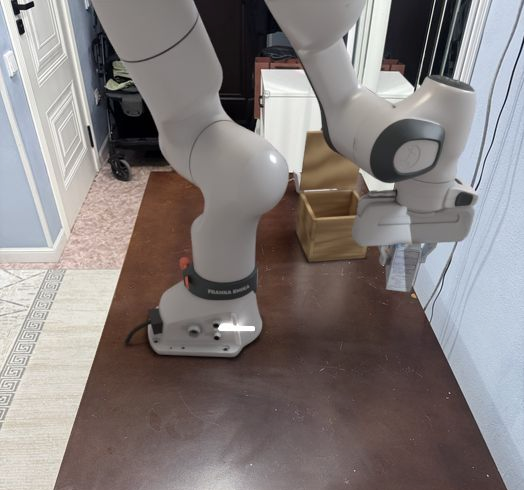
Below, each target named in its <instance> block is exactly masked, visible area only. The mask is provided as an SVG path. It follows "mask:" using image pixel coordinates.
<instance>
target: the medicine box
mask: <svg viewBox="0 0 524 490" xmlns="http://www.w3.org/2000/svg"><path fill="white" fill-rule="evenodd" d="M421 248H422V244H421V243H407V244H397V245H389V248H388V253H389V255H390V256H391V257H392V258H391V261H390V265H384V266H385V290H388V291H397V292H403V293H404V292H405V293H410V292H411V291H412V287H413V283H414V280H415V276H416V273H417V269H418V266H419V264H420V263H419V259H420V256H421V252H422V251H421Z"/></svg>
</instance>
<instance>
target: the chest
mask: <svg viewBox="0 0 524 490" xmlns="http://www.w3.org/2000/svg"><path fill="white" fill-rule="evenodd" d="M360 198H361V196H360V194H359V193H358V192H357V190H356V189H355V188H343V189H337V190H326V191H307V192H299V193H298V205H297V219H296V235H297V237H298V240H299V242H300V245H301V247H302V250H303V252H304V254H305V256H306V259H307V262H308V263H312V262H314V263H315V262H325V261H326V262H327V261H339V260H355V259H365V258H366V253H367V249H368V246H359V245H358V244H357V243H356V241H355V240H354V238H353V236H352V228H353V224H354V220H355V217H356V215H357V206H358V201H359V199H360Z"/></svg>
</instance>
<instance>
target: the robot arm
mask: <svg viewBox="0 0 524 490" xmlns="http://www.w3.org/2000/svg"><path fill="white" fill-rule="evenodd" d="M263 1H264V2H265V5H266V6H267V8H268V10H269V12H270V13H271V15H272V16H273V18H274V19H275V22H276V23H277V25H278V26H279V28H280V29H281V31H282V33H283V34H284V35H285V37H286V38H287V40H288V41H289V43H290V45H291V46H292V48H293V50H294V52H295V55H296V57H297V59H298V62H299V64H300V66H301V68H302V70H303V72H304V74H305V77H306V79H307V81H308V83H309V85H310V87H311V89H312V91H313V94H314V96H315V98H316V101H317V103H318V107H319V112H320V120H321V123H320V124H321V128H322V132H323V136H324V139H325V142H326V143H327V145H328V146H329V148H330V149H331V150H333V151H334V152H336V153H338V154H340V155H341V156H343V157H345V158H347V159H348V160H350V161H351V162H352V163H354V164H355V165H357V166H358V167H359V168H360V169H361V170H362V171H364V172H365V173H366V174H367V175H369V176H371V177H372V178H374V179H375V180H377V181H379V182H382V183H384V184H394V186H393V189H383V190H375V189H374V190H373V189H372V190H369V191H368V192H367V193H364V194H363V195H362V196H360V199H359V201H358V206H357V215H356V217H355V220H354V224H353V228H352V236H353V238H354V240H355V241H356V243H357V244H358V245H359V246H367V247H377V249H378V252H379V253H380V254H379V258H378V263H379V264H380V266H386V265H390V261H391V258H392V257H391V256H390V255H389V249H390V245H397V244H407V243H421V245H423V246H421V251H422V252H421V256H420V259H419V263H418V264H425V263H426V260H427V257H428V256H429V255H430V254H431V253H432V252H433V251H434V250H435V249H436V248H437V245H438V244H439V243H440V244H441V243H443V244H444V243H460V242H463V241H464V240H466V238H467V237H468V236H469V234H470V231H471V229H472V225H473V222H474V220H475V213H476V210H475V207H474V206H475V205H477V202H478V201H479V198H480V194H479V193H478V192H477V191H476V190H475V189H474V188H473V187H472V186H471V185H470V184H469V183H468V182H466V181H465V180H464V179H462V178H461V177H458V176H457V173H458V169H457V168H458V162H459V160H460V157H461V156H462V154H463V153H464V151H465V148H466V147H467V143H468V140H469V136H470V133H471V130H472V127H473V123H474V117H475V113H476V108H477V107H476V106H477V93H476V90H475V89H474V87H473V86H472V85H470V84H468V83H466V82H464V81H461V80H459V79H455V78H452V77H449V76H446V75H441V74H431V75H427V76H426V77H425V78H424V80H423V82H422V84H420V86H419V87H418V88H417V89H416V90H415V91H413V92H412V93H411V94H410V95H408V96H406V97H405V98H403V99H401V100H399V101H397V102H393V103H392V102H391V101H389V100H387V99H385V98H383V97H382V96H380V95H377V93H375V92H374V91H372V90H371V89H369V88H368V87H366V86H364V84H363V83H362V82H361V80H359V79H358V76H357V73H356V71H355V68H354V66H353V63H352V60H351V57H350V55H349V52H348V49H347V46H346V44H345V41H344V38H343V37H344V36H345V35H347V33H348V32H350V31H351V30H352V29H353V27H354V26H355V25H356V23H357V22H358V20H359V19H360V17H361V16H362V14H363V11H364V9H365V6H366V3H367V0H263ZM90 2H91V4H92V7H93V9H94V11H95V13H96V16H97V18H98V20H99V22H100V24H101V26H102V29H103V31H104V33H105V35H106V36H107V38H108V40H109V42H110V44H111V46H112V47H113V49H114V52H115V53H116V54H117V55H116V56H118V58H119V60H120V62H121V63H122V65H123V67H124V68H125V70H126V72H127V74H128V76H130V78H131V80H132V82H133V84H134V85H135V87H136V89H137V90H138V92H139V94H140V95H141V98H142V100H143V101H144V103H145V104H146V107H147V108H148V110H149V112H150V115H151V116H152V119H153V121H154V124H155V126H156V129H157V132H158V146H159V150H160V151H161V154H162V156H163V158H164V159H165V160H166V161H167V163H168V164H169V165H170V166H171V168H172V169H173V170H174V171H175V172H176V173H177V174H178V175H179V176H180V177H182V178H184V179H185V180H187V181H188V182H189V183H191V184H192V185H194V186H195V187H197V188H198V189H200V191H201V194H202V196H203V201H204V205H203V212H202V213H201V214H199V215H198V216H197V217H196V218H195V219H194V221H193V222H192V224H191V225H190V226H191V227H190V240H191V252H192V261H191V259H190V258H189V257H187V256H182V257H181V258H180V259H179V269H180V270H181V271H182V280H180V281H178V282H177V283H175V284H174V285H173V286H171V287H170V288H168V289H166V290H165V291H164V292H163V293H162V295H161V297H160V300H159V304H158V305H157V306H156V307H155V308H150V309H147V314H148V320H146V321H144V322H142V323H141V324H139V325H137V326H135V327H134V328H133V329H131V331H130V332H129V333H128V335H127V337H126V339H125V340H124V343H125V344H126V345H127V344H129V343H130V341H131V340H132V338H133V336H134V335H135V334H136V333H137V332H138V331H140V330H142V329H143V328H146V327H147V337H148V338H147V339H148V342H149V345H150V347H151V348H152V350H153V351H154V352H156V354H158V355H162V356H163V355H165V356H166V355H167V356H187V357H188V356H190V357H191V356H192V357H216V358H219V357H220V358H234V357H236V356H238V355H239V354H240V352H241V351H242V349H243V348H244V347H245V346H247V345H248V344H250V343H252V342H253V341H254V340H256V339H257V338H258V336H259V335H260V334H261V332H262V329H263V320H262V317H261V314H260V311H259V307H258V306H259V305H258V302H257V292H258V285H259V277H258V276H259V269H258V265H257V261H256V242H257V230H258V225H259V222H260V220H261V218H262V216H263V215H264V214H267V213H268V212H270V211H271V210H273V209H274V208H275V207H276V206H277V205H278V204H279V203H280V201H281V200H282V198H283V197H284V195H285V193H286V191H287V188H288V186H289V185H288V183H289V180H290V179H289V177H290V170H289V164H288V162H287V159H286V158H285V156H284V155H283V154H282V153H281V152H280V151H279V150H278V149H277V148H276V147H275V146H274V145H273V144H272V143H271V142H270V141H268V139H266V137H263V136H262V135H260V134H258V133H256V132H254V131H252V130H250V129H247V128H246V127H244V126H242V125H240V124H238V123H237V122H235V121H234V120H233V119H232V118H231V117H230V116H229V115H228V114H227V112H226V111H225V109H224V107H223V106H222V103H221V100H220V95H219V91H220V90H221V87H222V83H223V79H224V76H223V68H222V65H221V63H220V61H219V58H218V56H217V53H216V51H215V47H214V46H213V43H212V42H211V38H210V36H209V34H208V32H207V30H206V29H207V28H206V27H205V24H204V23H203V20H202V18H201V15H200V13H199V10H198V8H197V5H196V4H195V1H194V0H90ZM387 251H388V252H387Z"/></svg>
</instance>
